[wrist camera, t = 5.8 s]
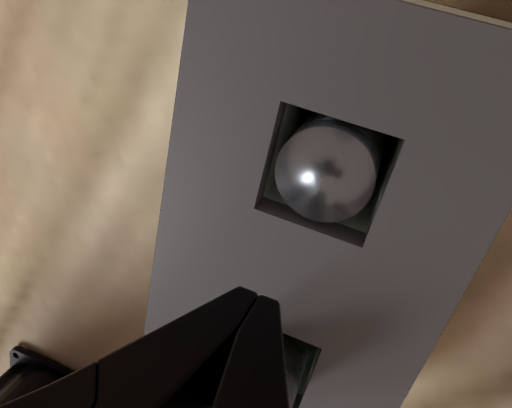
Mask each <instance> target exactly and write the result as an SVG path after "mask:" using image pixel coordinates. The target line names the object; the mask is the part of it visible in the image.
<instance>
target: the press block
mask: <svg viewBox="0 0 512 408" xmlns="http://www.w3.org/2000/svg"><path fill="white" fill-rule="evenodd" d="M310 110H311V111H314V112H317V113H320V114H324V115H327V116H330V117H333V118H336V119H340V120H343V121H346V122H349V123H352V124H356V125H359V126H362V127H365V128H368V129H372V130H375V131H378V132H381V133H384V134H388V135H391V136H394V137H395V139H394V142H393V144H392V147H391V149H390V152H389V154H388V157H387V160H386V162H385V165H384V167H383V170H382V173H381V175H380V178H377V179H376V183H375V187H374V190H373V194H372V196H371V198H370V200H369V201H368V203H367V204H366V205H365V207H364V208H363V209H362V210H361V211H359V212H358V213H357V214H355V215H354V216H352V217H350V218H348V219H345V220H342V221H338V222H318V221H314V220H310V219H308V218H305V217H303V216H302V215H300V214H298V213H297V212H295V211H294V210H293V209H292V208H291V207H289V206H288V204H287V203H286V202H285V201H284V199H283V198H282V196H281V195H280V193H279V191H278V188H277V185H276V181H275V163H276V159H277V156H278V154H279V152H280V150H281V148H282V147H283V145H284V144H285V143H286V142H287V141H288V140H289V138H290V137H291V136H292V135H293V134H294V133H295V132H296V131H297V130H298V128H299V127H300V126H301V125H302V124H303V123H304V122H305V121H306V119H307V118H308V114H309V111H310ZM511 208H512V23H511V22H507V21H503V20H499V19H495V18H491V17H487V16H483V15H479V14H475V13H471V12H467V11H463V10H459V9H456V8H452V7H448V6H444V5H440V4H436V3H432V2H428V1H424V0H188V7H187V15H186V22H185V30H184V37H183V45H182V52H181V60H180V67H179V75H178V82H177V89H176V97H175V104H174V112H173V119H172V127H171V134H170V142H169V149H168V157H167V164H166V171H165V179H164V186H163V194H162V201H161V209H160V216H159V224H158V231H157V239H156V246H155V254H154V261H153V268H152V276H151V283H150V291H149V298H148V306H147V313H146V321H145V328H144V335H146V334H148V333H150V332H152V331H154V330H155V329H157V328H159V327H161V326H163V325H165V324H167V323H169V322H171V321H173V320H175V319H177V318H178V317H180V316H182V315H184V314H186V313H188V312H190V311H192V310H194V309H196V308H198V307H199V306H201V305H203V304H205V303H207V302H209V301H211V300H213V299H215V298H217V297H219V296H220V295H222V294H224V293H226V292H228V291H230V290H232V289H234V288H236V287H239V286H241V287H244V288H247V289H249V290H252V291H254V292H256V293H257V294H258V296H259V295H265V296H267V297H270V298H272V299H275V300H277V301H278V302H279V304H280V311H281V322H282V333H284V334H287V335H289V336H291V337H294V338H296V339H299V340H301V341H304V342H306V343H309V344H311V350H310V353H309V356H308V360H307V363H306V366H305V369H304V372H303V375H302V378H301V382H300V385H299V388H298V391H297V394H296V397H295V401H294V404H293V407H292V408H400V407H401V405H402V403H403V401H404V399H405V398H406V396H407V394H408V392H409V391H410V389H411V387H412V385H413V383H414V382H415V380H416V378H417V376H418V374H419V373H420V371H421V369H422V367H423V365H424V364H425V362H426V360H427V358H428V357H429V355H430V353H431V351H432V349H433V348H434V346H435V344H436V342H437V340H438V339H439V337H440V335H441V333H442V331H443V330H444V328H445V326H446V324H447V323H448V321H449V319H450V317H451V315H452V314H453V312H454V310H455V308H456V306H457V305H458V303H459V301H460V299H461V297H462V296H463V294H464V292H465V290H466V289H467V287H468V285H469V283H470V281H471V280H472V278H473V276H474V274H475V272H476V271H477V269H478V267H479V265H480V263H481V262H482V260H483V258H484V256H485V255H486V253H487V251H488V249H489V247H490V246H491V244H492V242H493V240H494V238H495V237H496V235H497V233H498V231H499V229H500V228H501V226H502V224H503V222H504V221H505V219H506V217H507V215H508V213H509V212H510V210H511Z"/></svg>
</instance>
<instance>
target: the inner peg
mask: <svg viewBox="0 0 512 408" xmlns="http://www.w3.org/2000/svg"><path fill="white" fill-rule="evenodd" d="M283 344H284V354H285V365H286V376H287V387H288V397H289V408H292V407H293V404H294V401H295V397H296V394H297V391H298V388H299V385H300V382H301V378H302V375H303V372H304V369H305V366H306V363H307V360H308V356H309V353H310V350H311V344H309V343H306V342H304V341H301V340H299V339H296V338H294V337H291V336H289V335H287V334H284V333H283Z"/></svg>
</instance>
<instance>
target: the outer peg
mask: <svg viewBox="0 0 512 408" xmlns="http://www.w3.org/2000/svg"><path fill="white" fill-rule="evenodd" d="M387 136H388V134H384V133H381V132H378V131H375V130H372V129H368V128H365V127H362V126H359V125H356V124H352V123H349V122H346V121H343V120H340V119H336V118H333V117H330V116H327V115H324V114H320V113H317V112H313V113H312V114H311V115H310V116H309V117H308V118H307V119H306V121H305V122H304V123H303V124H302V125H301V126H300V127H299V128H298V130H297V131H296V132H295V133H294V134H293V135H292V136H291V137H290V138H289V140H288V141H287V142H286V143H285V144H284V145H283V147H282V148H281V150H280V152H279V154H278V156H277V159H276V163H275V181H276V185H277V188H278V191H279V193H280V195H281V196H282V198H283V199H284V201H285V202H286V203H287V204H288V206H289V207H291V208H292V209H293V210H294V211H295V212H297V213H298V214H300V215H302V216H303V217H305V218H308V219H310V220H314V221H318V222H338V221H342V220H345V219H348V218H350V217H352V216H354V215H355V214H357V213H358V212H359V211H361V210H362V209H363V208H364V207H365V205H366V204H367V203H368V201H369V200H370V198H371V196H372V194H373V190H374V187H375V183H376V179H377V175H378V171H379V167H380V164H381V160H382V156H383V152H384V148H385V144H386V140H387Z"/></svg>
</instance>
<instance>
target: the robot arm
mask: <svg viewBox="0 0 512 408" xmlns="http://www.w3.org/2000/svg"><path fill="white" fill-rule="evenodd" d="M10 366H11V367H10V368H9V369H8V370H7V371H6V372H5V373H4V374H3V375H2V376H1V377H0V408H289V397H288V387H287V376H286V365H285V354H284V344H283V333H282V322H281V311H280V304H279V302H278V301H277V300H275V299H272V298H270V297H267V296H265V295H259V296H258V294H257V293H256V292H254V291H252V290H249V289H247V288H244V287H241V286H239V287H236V288H234V289H232V290H230V291H228V292H226V293H224V294H222V295H220V296H219V297H217V298H215V299H213V300H211V301H209V302H207V303H205V304H203V305H201V306H199V307H198V308H196V309H194V310H192V311H190V312H188V313H186V314H184V315H182V316H180V317H178V318H177V319H175V320H173V321H171V322H169V323H167V324H165V325H163V326H161V327H159V328H157V329H155V330H154V331H152V332H150V333H148V334H146V335H144V336H142V337H140V338H138V339H136V340H134V341H133V342H131V343H129V344H127V345H125V346H123V347H121V348H119V349H117V350H115V351H113V352H112V353H110V354H108V355H106V356H104V357H102V358H100V359H98V361H97V363H96V362H92V363H90V364H88V365H86V366H84V367H82V368H81V369H79V370H77V371H75V372H73V371H71V370H69V369H67V368H65V367H63V366H60V365H58V364H56V363H54V362H52V361H50V360H48V359H45V358H43V357H41V356H39V355H37V354H35V353H33V352H30V351H28V350H26V349H24V348H22V347H19V346H15V347H14V348H13V349H12V350H11V351H10Z"/></svg>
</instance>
